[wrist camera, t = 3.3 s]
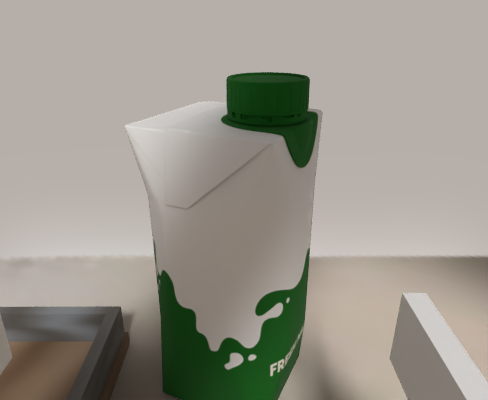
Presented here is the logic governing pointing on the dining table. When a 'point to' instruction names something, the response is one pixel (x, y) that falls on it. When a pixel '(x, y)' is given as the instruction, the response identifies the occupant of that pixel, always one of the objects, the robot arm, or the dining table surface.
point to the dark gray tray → (62, 352)
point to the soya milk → (232, 234)
